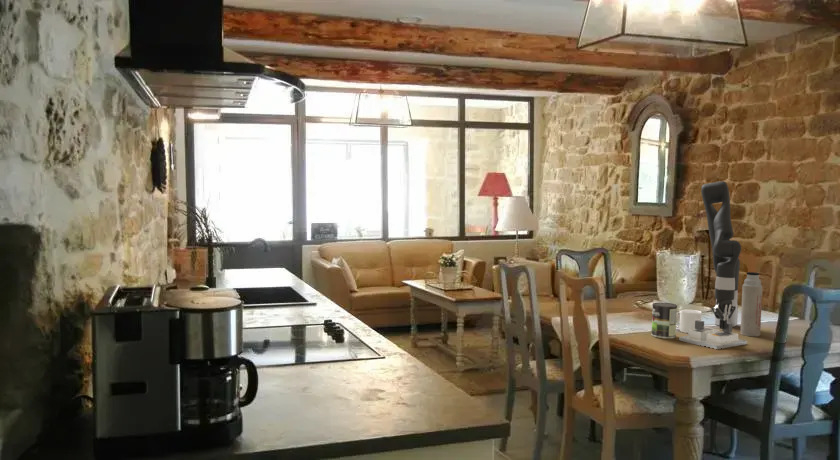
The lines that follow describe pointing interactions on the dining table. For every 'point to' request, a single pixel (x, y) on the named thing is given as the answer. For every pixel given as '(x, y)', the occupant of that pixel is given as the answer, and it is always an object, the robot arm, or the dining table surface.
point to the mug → (688, 319)
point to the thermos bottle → (751, 305)
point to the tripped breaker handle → (728, 328)
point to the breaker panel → (710, 344)
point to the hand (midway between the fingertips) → (722, 328)
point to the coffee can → (664, 320)
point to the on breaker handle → (699, 325)
